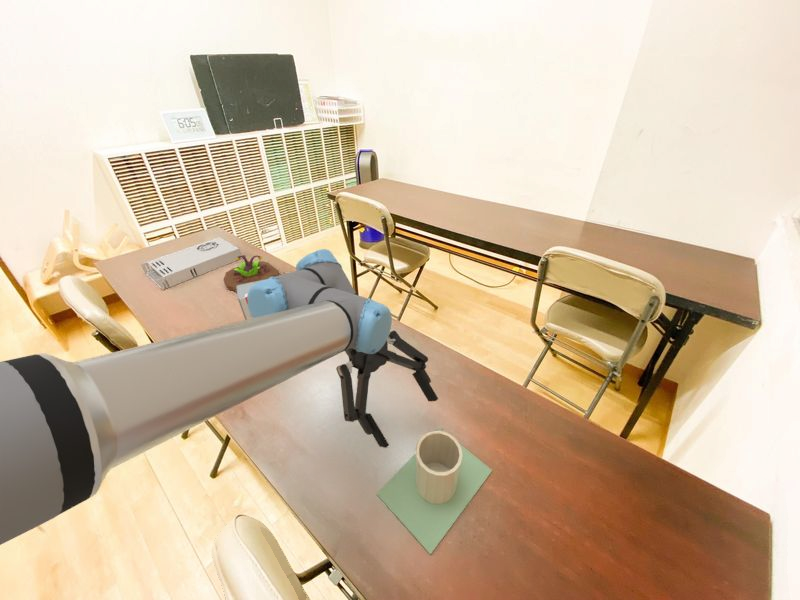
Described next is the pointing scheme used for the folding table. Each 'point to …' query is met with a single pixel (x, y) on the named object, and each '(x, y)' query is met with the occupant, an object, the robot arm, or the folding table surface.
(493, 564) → the folding table surface
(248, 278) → the plant
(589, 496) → the folding table surface
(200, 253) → the power supply unit
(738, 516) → the folding table surface
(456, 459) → the cup
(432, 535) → the place mat
